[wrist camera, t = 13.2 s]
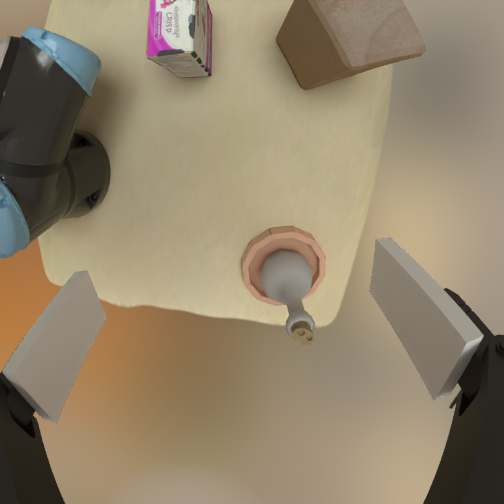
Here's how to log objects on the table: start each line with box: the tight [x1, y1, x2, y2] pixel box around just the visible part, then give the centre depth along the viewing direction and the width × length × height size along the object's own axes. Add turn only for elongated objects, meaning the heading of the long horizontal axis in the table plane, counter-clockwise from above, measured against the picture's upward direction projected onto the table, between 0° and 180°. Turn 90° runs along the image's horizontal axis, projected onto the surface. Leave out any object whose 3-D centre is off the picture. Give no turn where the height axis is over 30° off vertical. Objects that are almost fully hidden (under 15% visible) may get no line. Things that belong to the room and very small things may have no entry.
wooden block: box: [277, 0, 426, 89], centre depth 24 cm, size 10×10×20 cm
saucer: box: [242, 226, 325, 306], centre depth 48 cm, size 14×14×2 cm
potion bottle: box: [259, 249, 315, 345], centre depth 40 cm, size 9×9×18 cm
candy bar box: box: [146, 0, 212, 78], centre depth 25 cm, size 11×5×16 cm, turn 0°
